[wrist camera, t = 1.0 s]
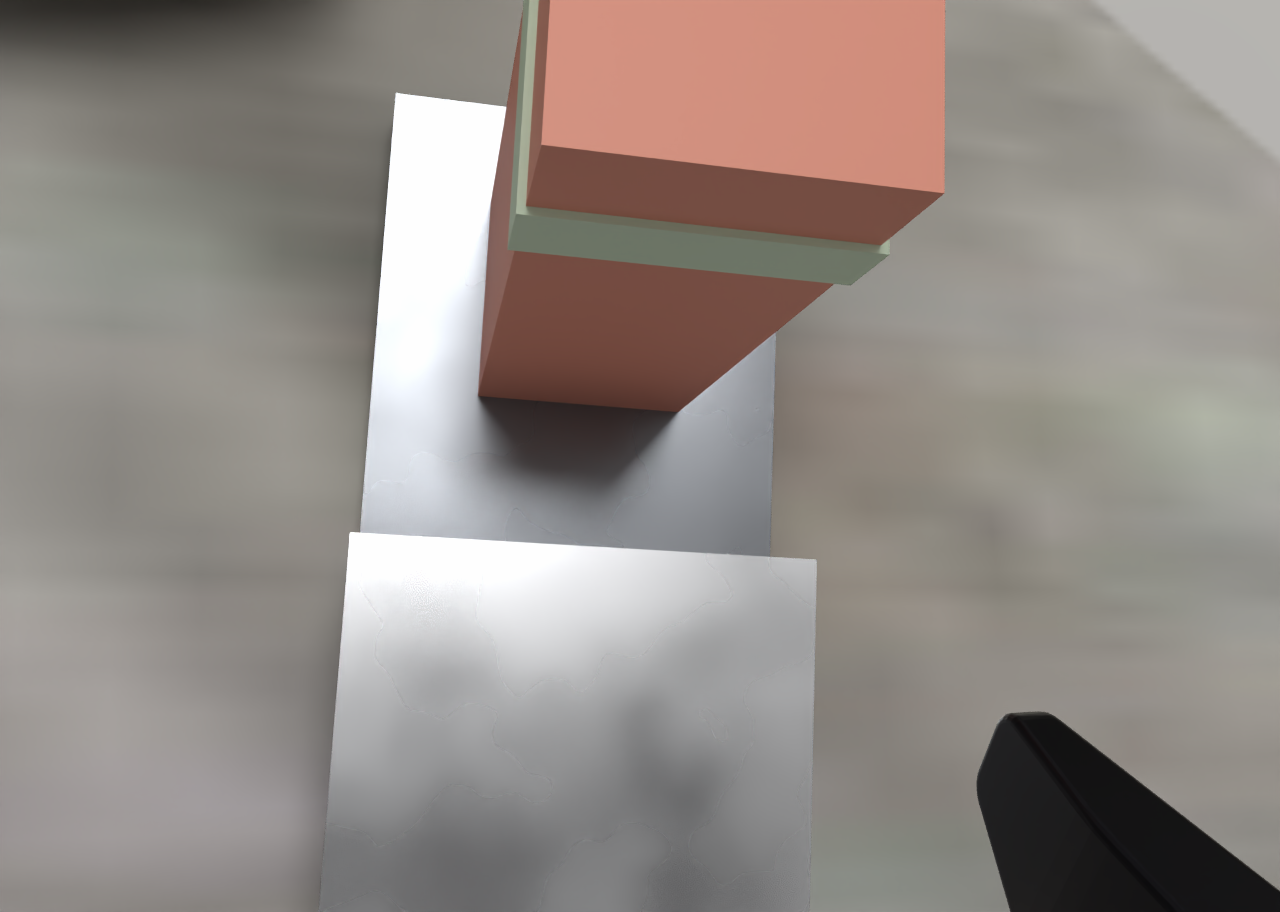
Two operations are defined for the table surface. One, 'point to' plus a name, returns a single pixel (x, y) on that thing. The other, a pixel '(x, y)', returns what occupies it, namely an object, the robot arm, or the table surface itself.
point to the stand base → (526, 437)
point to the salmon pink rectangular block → (696, 183)
